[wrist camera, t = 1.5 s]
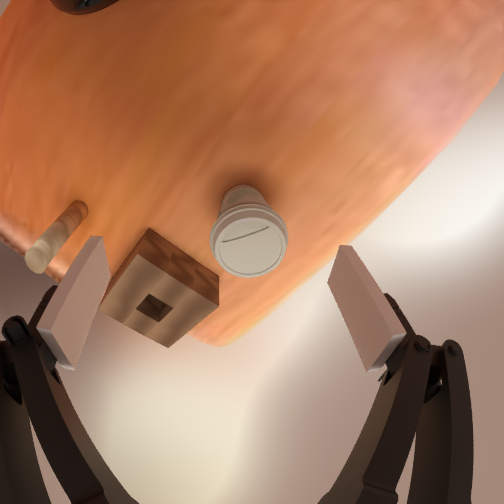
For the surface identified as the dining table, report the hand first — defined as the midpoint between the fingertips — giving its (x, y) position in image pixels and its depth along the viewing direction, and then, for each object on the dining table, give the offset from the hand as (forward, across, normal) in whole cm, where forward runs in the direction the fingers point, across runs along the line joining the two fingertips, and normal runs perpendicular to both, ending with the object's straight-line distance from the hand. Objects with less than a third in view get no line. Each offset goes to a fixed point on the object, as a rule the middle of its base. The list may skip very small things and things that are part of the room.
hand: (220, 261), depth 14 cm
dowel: (+24, -22, -8) cm, 33 cm away
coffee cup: (+24, +4, -7) cm, 25 cm away
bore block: (+23, -9, -21) cm, 33 cm away
